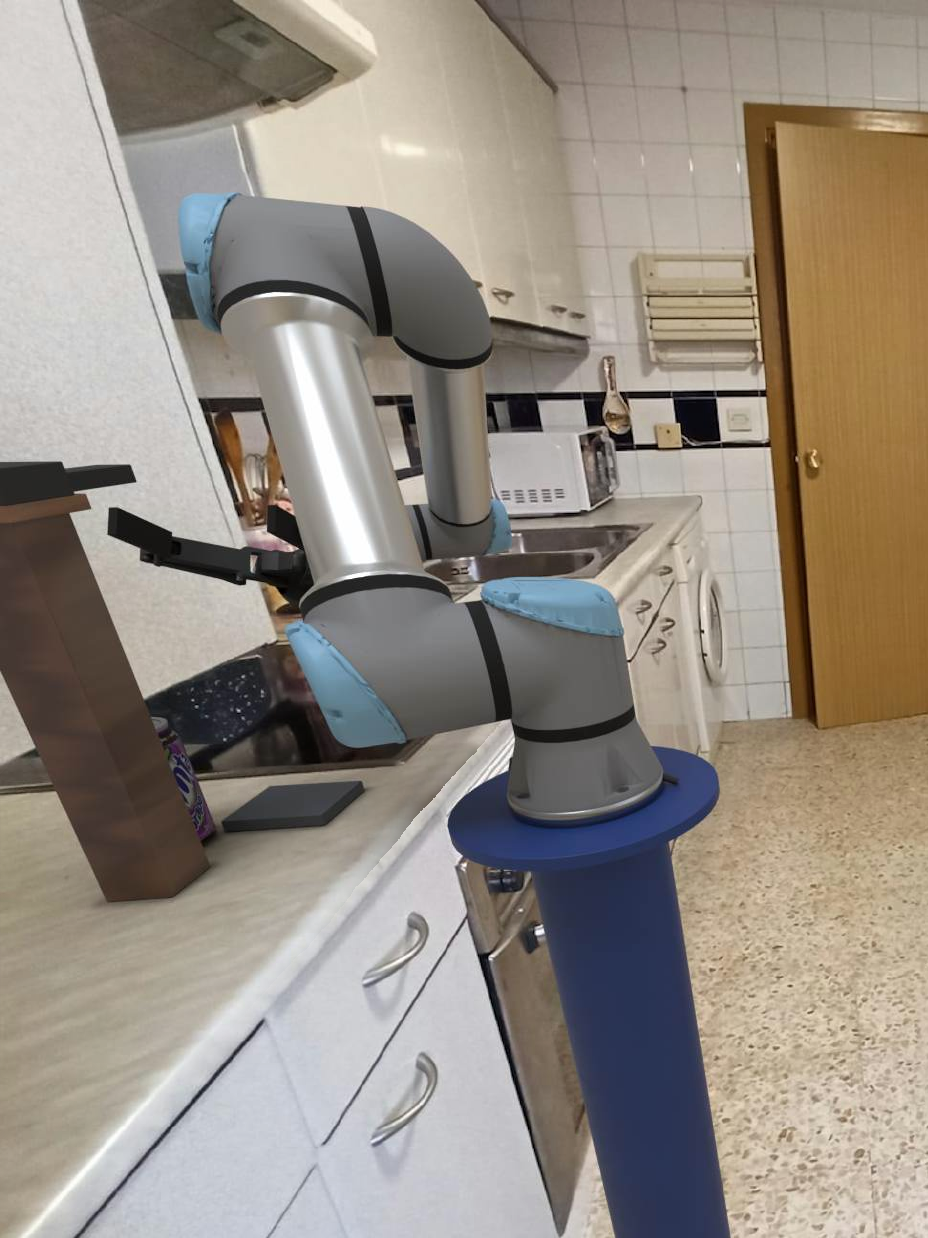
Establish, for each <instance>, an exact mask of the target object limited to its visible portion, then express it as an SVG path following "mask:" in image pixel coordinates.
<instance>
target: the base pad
mask: <svg viewBox="0 0 928 1238" xmlns="http://www.w3.org/2000/svg"><path fill="white" fill-rule="evenodd" d="M364 791H365V787H364V784H363V780H346V781H331V782H330V781H329V782H314V783H299V784H280V785H269V786H268V787H266V788H265V789H264V790H262V791H261V792H259V793H257V795H255V796H253V797H252V798H250V800H248V801H247V802H246V803H243V805H242V806H240V807H239V808H238V809H237V808H236V810H235V811H233V812H231V813H230V814H229V815H227V816H226V817H224V819H222V820H221V821H220V823H221V826H222V829H223V831H224V832H225V833H228V832H243V831H258V830H274V829H275V830H276V829H291V828H305V827H320V826H326V825H328V823H329V822H330V821H332V820H333V819H334V818H335V817H336V816H337V815H338V814H340V812H342V811H343V810H344V809H345V808H346V807H347V806H348V805H350V804H351V803H352V802H353V801H354V800H355V799H357V798H358V796H360V795H361V794H362V793H363V792H364Z"/></svg>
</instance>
